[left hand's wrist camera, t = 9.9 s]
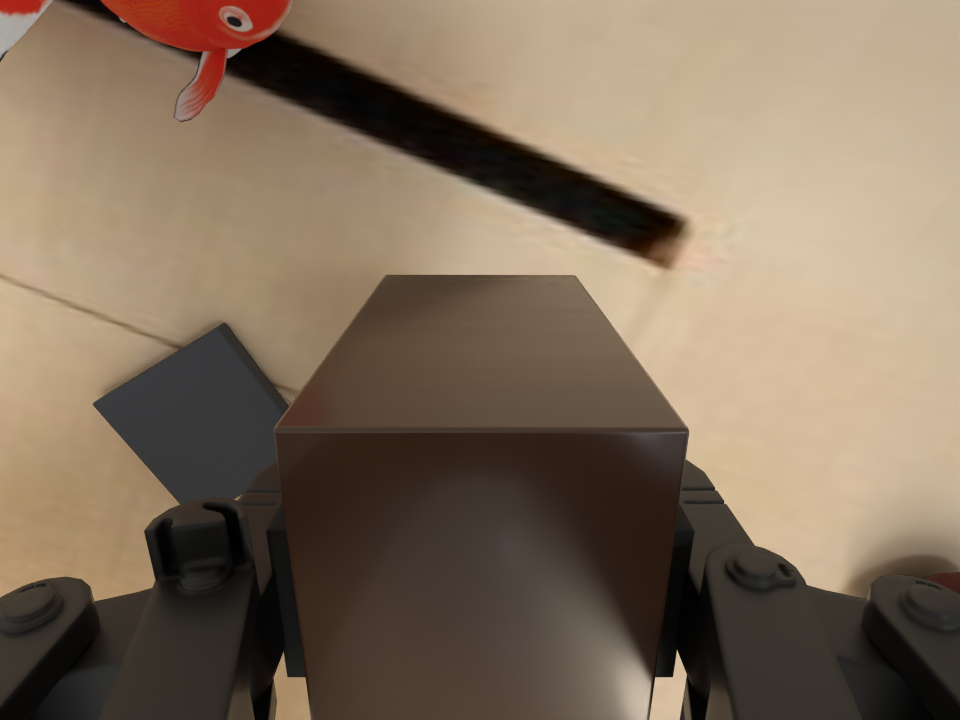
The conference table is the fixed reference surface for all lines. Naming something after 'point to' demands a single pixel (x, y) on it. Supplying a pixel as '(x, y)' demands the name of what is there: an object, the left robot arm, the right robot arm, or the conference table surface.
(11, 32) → the fish
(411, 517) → the beam
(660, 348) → the conference table surface
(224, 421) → the coaster
